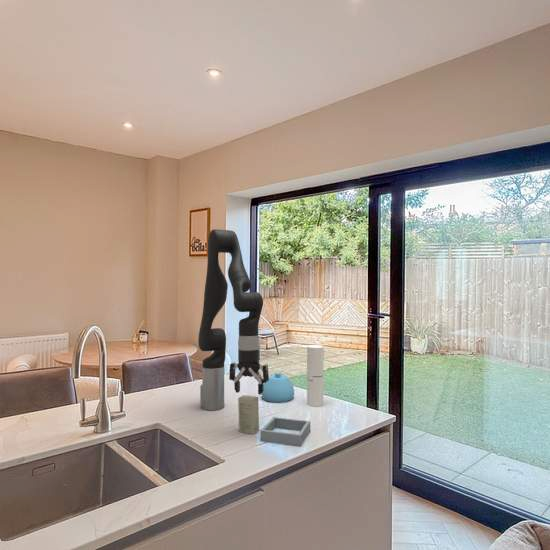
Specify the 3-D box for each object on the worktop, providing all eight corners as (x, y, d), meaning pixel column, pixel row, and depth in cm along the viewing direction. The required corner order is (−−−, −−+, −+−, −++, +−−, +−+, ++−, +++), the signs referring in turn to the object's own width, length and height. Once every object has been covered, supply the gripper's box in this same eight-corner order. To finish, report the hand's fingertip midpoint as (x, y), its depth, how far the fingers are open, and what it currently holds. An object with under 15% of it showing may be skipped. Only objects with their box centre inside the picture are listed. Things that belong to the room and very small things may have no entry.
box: (260, 440, 139) (260, 430, 139) (273, 426, 152) (273, 416, 152) (300, 446, 134) (300, 435, 134) (310, 430, 148) (310, 421, 148)
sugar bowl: (255, 401, 183) (255, 375, 183) (269, 392, 197) (269, 368, 197) (287, 405, 177) (287, 378, 177) (298, 395, 191) (298, 370, 191)
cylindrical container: (322, 406, 175) (322, 348, 175) (306, 405, 176) (306, 347, 176) (324, 401, 182) (324, 345, 182) (308, 400, 183) (308, 344, 183)
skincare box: (259, 430, 148) (259, 396, 148) (253, 434, 144) (253, 399, 144) (243, 427, 151) (243, 394, 151) (237, 431, 147) (237, 397, 147)
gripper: (226, 348, 146) (226, 394, 146) (263, 350, 142) (264, 397, 142) (234, 345, 153) (234, 388, 153) (270, 347, 149) (271, 391, 149)
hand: (248, 393), depth 147 cm, fingers open, 8 cm apart
